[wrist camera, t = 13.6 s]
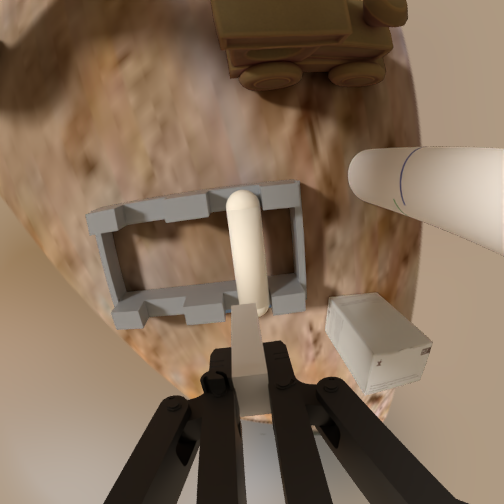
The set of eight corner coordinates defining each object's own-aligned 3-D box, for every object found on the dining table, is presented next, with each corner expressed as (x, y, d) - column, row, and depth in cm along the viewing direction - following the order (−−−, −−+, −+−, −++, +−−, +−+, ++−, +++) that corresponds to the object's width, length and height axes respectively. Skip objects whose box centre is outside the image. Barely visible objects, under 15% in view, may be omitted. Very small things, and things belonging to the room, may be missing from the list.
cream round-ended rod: (236, 314, 34) (249, 326, 31) (219, 191, 30) (231, 193, 27) (262, 305, 36) (276, 317, 33) (249, 187, 31) (264, 188, 28)
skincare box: (323, 330, 41) (358, 399, 26) (328, 293, 39) (371, 356, 25) (373, 324, 41) (420, 384, 27) (380, 289, 39) (435, 343, 25)
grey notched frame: (127, 311, 38) (112, 333, 32) (101, 207, 33) (79, 215, 28) (301, 292, 38) (312, 314, 33) (293, 179, 34) (305, 182, 28)
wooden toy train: (225, 99, 31) (218, 46, 15) (213, 23, 27) (202, -56, 11) (376, 91, 31) (457, 60, 15) (359, 21, 28) (419, -35, 12)
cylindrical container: (385, 143, 33) (547, 143, 9) (400, 193, 35) (553, 241, 11) (340, 157, 33) (501, 164, 10) (357, 210, 36) (507, 283, 12)
